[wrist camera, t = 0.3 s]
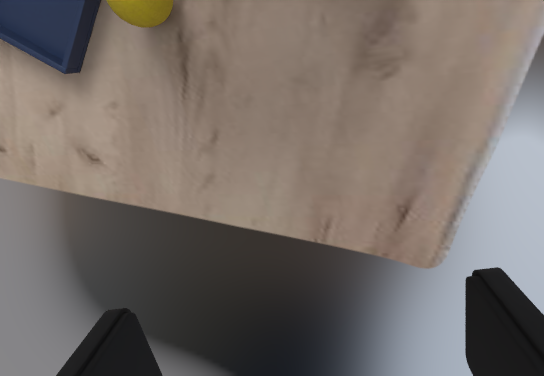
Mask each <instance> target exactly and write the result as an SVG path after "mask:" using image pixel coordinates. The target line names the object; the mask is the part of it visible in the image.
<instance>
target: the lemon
mask: <svg viewBox="0 0 544 376" xmlns="http://www.w3.org/2000/svg"><path fill="white" fill-rule="evenodd" d="M107 2H108V4H109V6H110V7H111V9H112V10H113V11H114V12H115V13H116V14H117V15H118V16H119V17H120V18H121V19H123V20H124V21H126V22H128V23H130V24H132V25H135V26H138V27H153V26H157V25H159V24H161V23H162V22H164V21H165V20H166V19H167V17H168V16H169V15H170V12H171V10H172V6H173V0H107Z"/></svg>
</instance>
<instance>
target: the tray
mask: <svg viewBox="0 0 544 376" xmlns="http://www.w3.org/2000/svg"><path fill="white" fill-rule="evenodd" d="M100 1H101V0H0V39H2V40H4V41H6V42H7V43H9V44H11V45H13V46H15V47H17V48H18V49H20V50H22V51H24V52H26V53H28V54H29V55H31V56H33V57H35V58H37V59H39V60H40V61H42V62H44V63H46V64H48V65H50V66H51V67H53V68H55V69H57V70H59V71H61V72H62V73H64V74H69V73H80V70H81V67H82V63H83V60H84V56H85V53H86V50H87V46H88V43H89V39H90V36H91V32H92V29H93V25H94V22H95V19H96V15H97V12H98V8H99V5H100Z"/></svg>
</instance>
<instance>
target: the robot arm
mask: <svg viewBox="0 0 544 376" xmlns="http://www.w3.org/2000/svg"><path fill="white" fill-rule="evenodd" d="M466 358H467V363H468V365H469V368H470V370H471V372H472V374H473V376H544V315H543V314H542V313H541V312H540V311H539V310H538V309H537V307H536V306H535V305H534V304H533V303H532V302H531V301H530V300H529V299H528V298H527V296H526V295H525V294H524V293H523V292H522V291H521V290H520V289H519V288H518V287H517V285H515V283H514V282H513V281H512V280H511V279H510V278H509V277H508V275H507V274H506V273H505V272H504V271H503V270H502V269H500V268H490V269H480V270H474V271H473V273H472V276H470V277H467V278H466ZM56 376H162V373H161V371H160V369H159V367H158V364H157V362H156V360H155V358H154V355H153V353H152V351H151V348H150V346H149V344H148V342H147V340H146V337H145V335H144V333H143V331H142V328H141V326H140V324H139V322H138V319H137V317H136V315H135V314H134V313H131V311H130V310H129V309H127V308H123V309H114V310H108V311H106V312H105V313H104V314H103V315H102V317H101V318H100V319H99V320H98V322H97V323H96V324H95V326H94V327H93V328H92V330H91V331H90V332H89V333H88V335H87V336H86V337H85V339H84V340H83V341H82V342H81V344H80V345H79V346H78V348H77V349H76V350H75V352H74V353H73V354H72V356H71V357H70V358H69V359H68V361H67V362H66V364H65V365H64V366H63V367H62V369H61V370H60V371H59V372H58V374H57V375H56Z"/></svg>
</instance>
